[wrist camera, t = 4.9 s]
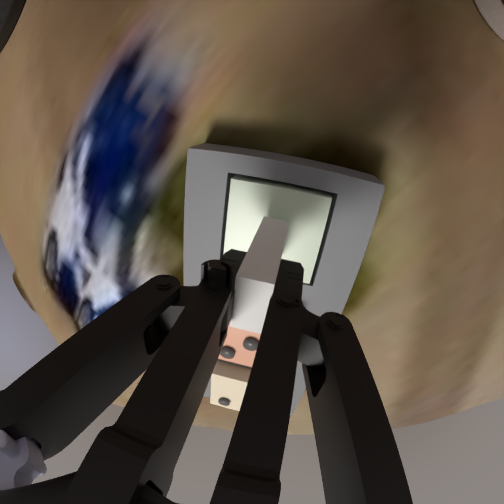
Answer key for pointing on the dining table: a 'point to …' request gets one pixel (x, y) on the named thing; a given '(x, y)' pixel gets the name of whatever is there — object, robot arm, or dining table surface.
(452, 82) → the dining table surface
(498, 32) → the coffee cup
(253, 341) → the tile three
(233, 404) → the tile two
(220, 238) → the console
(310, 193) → the tile one
